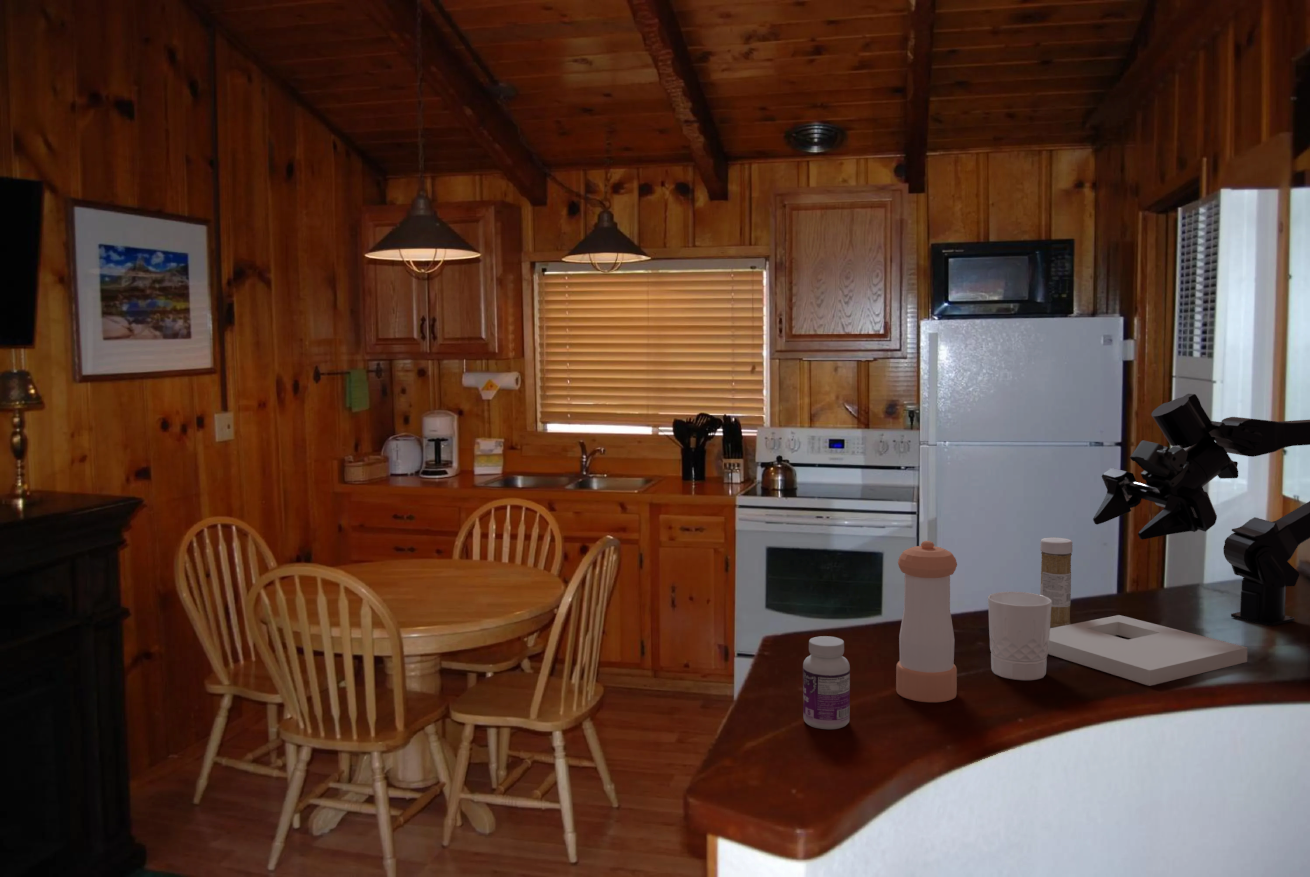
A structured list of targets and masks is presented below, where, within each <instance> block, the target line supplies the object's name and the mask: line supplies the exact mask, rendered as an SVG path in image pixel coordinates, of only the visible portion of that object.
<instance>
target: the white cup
mask: <svg viewBox="0 0 1310 877" xmlns="http://www.w3.org/2000/svg"><path fill="white" fill-rule="evenodd" d="M987 602H988V603H987V604H988V605H987V606H988V630H989V631H988V633H989V649H990V652H991V653H990V667H991V669H990V670H991V671H992V673H993V674H994V675H996V676H999V677H1001V678H1004V679H1008V680H1009V679H1010V680H1016V681H1036V680H1040V679H1044V677H1046V674H1047V660H1048V658H1047V657H1048V655H1049V654H1048V644H1049V636H1050V628H1051V627H1050V621H1051V606H1052V600H1051V599H1050V598H1048V597H1045V596H1042V595H1040V594H1037V593H1033V592H1026V591H1025V592H1023V591H1022V592H1021V591H1000V592H995V593H991V594H989V595H988V597H987Z"/></svg>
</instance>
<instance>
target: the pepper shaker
mask: <svg viewBox="0 0 1310 877" xmlns="http://www.w3.org/2000/svg"><path fill="white" fill-rule="evenodd" d="M897 564H898V567H899V569H900V570H899V571H901V572H902V574H904V587H903V588H904V590H903V591H904V594H903V595H904V596H903V598H904V602H903V611H902V618H901V624H900V630H899V635H898V638H899V639H898V641H899V642H898V644H899V646H898V648H899V661H897V663H896V665H895V666H896V668H895V670H896V671H895V674H896V676H895V677H896V678H895V679H896V683H895V688H896V689H895V690H896V693H897V694H898V695H899V696H901V698H905V699H907V700H911V701H914V702H915V701H916V702H921V703H943V702H947V701H952V700H953V699H955V698H956V697H957V694H958V693H957V690H958V689H957V686H958V684H957V682H958V680H957V679H958V678H957V677H958V668H957V666H956V665H955V664H954V662H955V661H954V659H955V633H954V626H953V621H952V613H951V576H952V575H954V573H955V571H956V570H957V566H958V562H957V558H956V557H955V556H954V554H953V553H952V552H951V551H950V550H947V549H945V548H944V547H942V546H941V547H939V546H935V544H934V542H933V541H931V540H924V541H922V542H921V543H920V545H915V546H912V547H909V548H907V549H905V550H903V552H901V554H900V556H899V557H898V561H897Z"/></svg>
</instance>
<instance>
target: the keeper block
mask: <svg viewBox="0 0 1310 877" xmlns="http://www.w3.org/2000/svg"><path fill="white" fill-rule="evenodd" d="M1119 636H1120V637H1119ZM1122 637H1124V638H1122ZM1048 655H1050V656H1052V657H1053V656H1054V657H1055V658H1060V659H1063V660H1066V661H1069V662H1073V663H1075V664H1079V665H1082V666H1085V667H1088V668H1092V669H1095V670H1097V671H1101V672H1104V673H1107V674H1111V675H1113V676H1117V677H1120V678H1123V679H1126V680H1130V681H1133V682H1136V683H1138V684H1142V685H1145V686H1156V685H1159V684H1164V683H1167V682H1170V681H1175V680H1179V679H1183V678H1187V677H1192V676H1196V675H1200V674H1202V673H1203V674H1204V673H1207V672H1212V671H1215V670H1219V669H1224V668H1228V667H1231V666H1236V665H1240V664H1244V663H1247V662H1248V647H1247V646H1243V645H1240V644H1237V643H1236V644H1235V643H1232V642H1228V641H1222V640H1220V639H1215V638H1211V637H1208V636H1203V635H1200V634H1195V633H1191V632H1188V631H1183V630H1180V629H1176V628H1172V627H1168V626H1164V625H1161V624H1156V623H1153V622H1148V621H1145V620H1140V619H1136V618H1133V617H1129V616H1126V615H1125V616H1124V615H1120V614H1116V615H1113V616H1108V617H1101V618H1097V619H1091V620H1086V621H1081V622H1076V623H1070V625H1065V626H1060V627H1054V628H1053V627H1050V636H1049V644H1048Z"/></svg>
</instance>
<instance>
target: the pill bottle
mask: <svg viewBox="0 0 1310 877" xmlns="http://www.w3.org/2000/svg"><path fill="white" fill-rule="evenodd" d="M808 652H809V654H810V655H808V656H807V657H805V659H804V660H803V663H802V690H803V691H802V694H803V695H802V702H803V703H802V705H803V706H802V709H803V710H802V711H803V712H802V713H803V716H802V717H803V721H804V722H805V724H806V725H808V726H810V727H812V728H815V729H821V730H838V729H839V730H840V729H841V728H844V727H846V726H847V725H848V724H849V723H850V718H851V717H850V713H851V712H850V707H851V706H850V704H851V703H850V702H851V701H850V697H851V696H850V695H851V693H850V692H851V691H850V690H851V689H850V688H851V685H850V684H851V666H850V662H849V660H848V659H847V658H846V657H845V656H843V655H844V653H845V641H844V640H843V639H842V638H840V637H836V636H830V635H829V636H827V635H823V636H815V637H811V638H810V639H809V640H808Z"/></svg>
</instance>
